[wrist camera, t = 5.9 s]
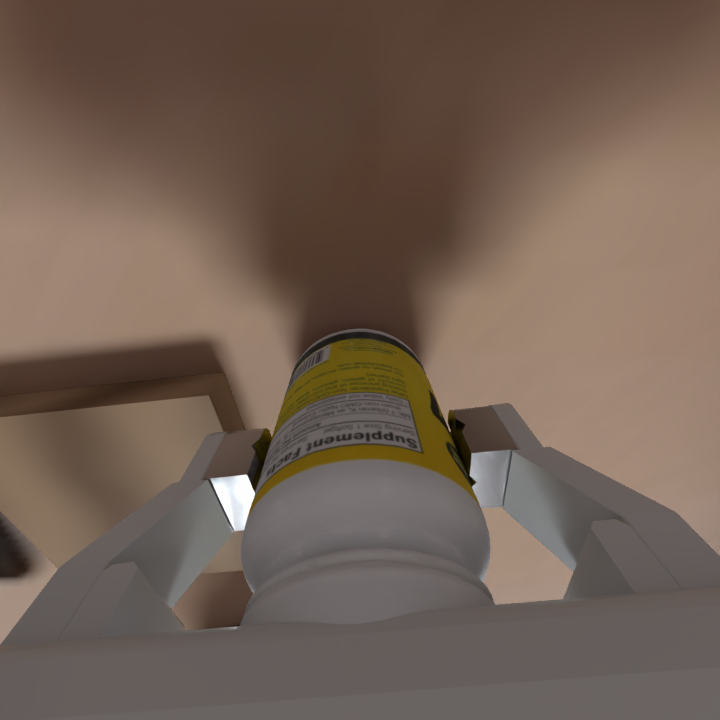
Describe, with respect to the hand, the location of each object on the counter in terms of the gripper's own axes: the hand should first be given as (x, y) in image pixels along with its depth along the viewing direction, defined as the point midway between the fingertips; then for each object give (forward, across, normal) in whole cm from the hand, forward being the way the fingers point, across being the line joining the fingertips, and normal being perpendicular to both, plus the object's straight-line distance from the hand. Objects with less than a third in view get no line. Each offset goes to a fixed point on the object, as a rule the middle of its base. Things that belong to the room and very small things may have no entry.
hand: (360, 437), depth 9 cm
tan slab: (+4, +10, +5) cm, 12 cm away
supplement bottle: (+3, 0, 0) cm, 3 cm away
